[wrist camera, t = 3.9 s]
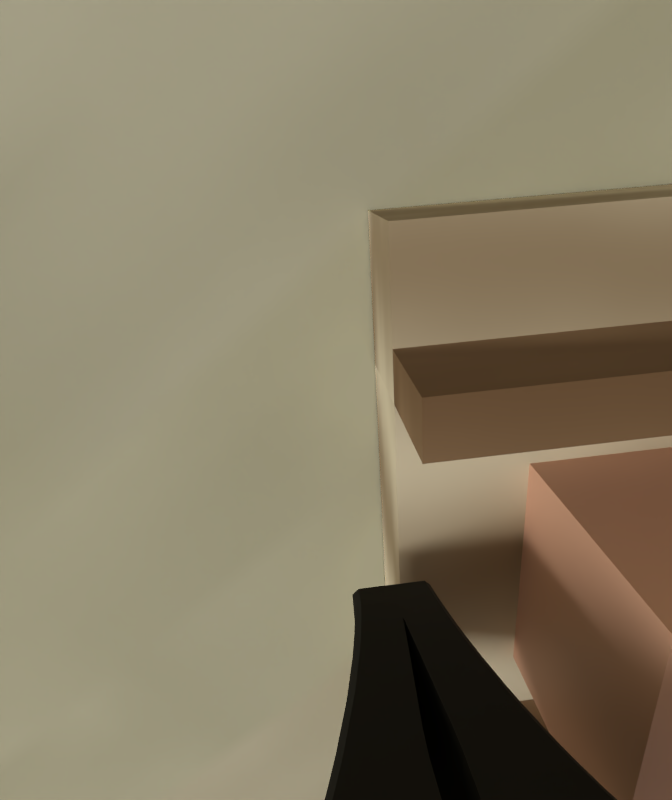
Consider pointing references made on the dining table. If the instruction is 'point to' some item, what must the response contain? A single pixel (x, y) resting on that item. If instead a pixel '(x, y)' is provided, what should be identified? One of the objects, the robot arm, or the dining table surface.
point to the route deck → (510, 377)
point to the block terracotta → (602, 614)
